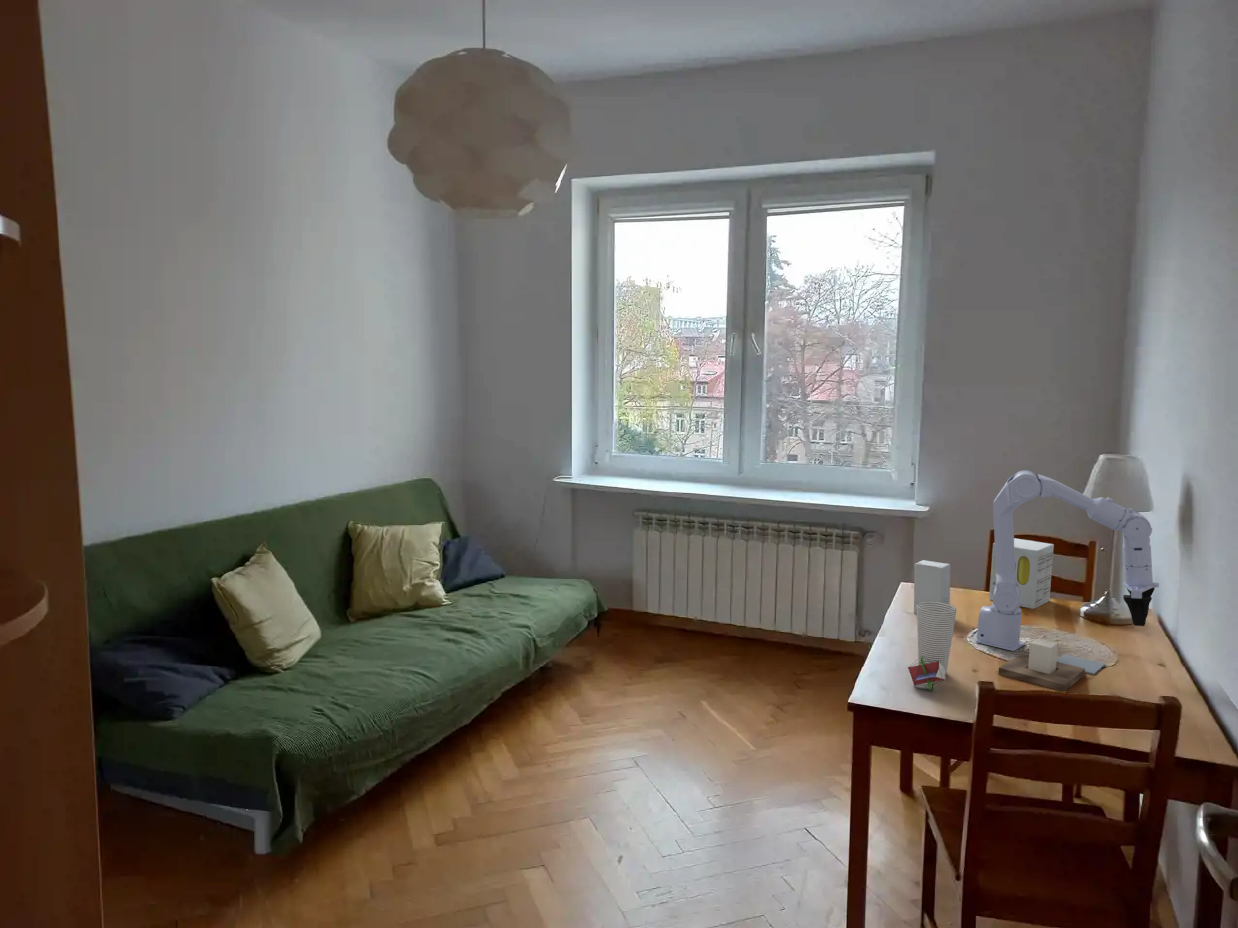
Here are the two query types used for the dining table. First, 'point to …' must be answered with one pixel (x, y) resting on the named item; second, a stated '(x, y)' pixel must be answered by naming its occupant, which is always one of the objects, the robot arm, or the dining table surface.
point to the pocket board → (1057, 680)
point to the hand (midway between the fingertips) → (1140, 621)
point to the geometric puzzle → (927, 673)
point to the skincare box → (931, 582)
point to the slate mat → (1081, 663)
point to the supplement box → (1029, 571)
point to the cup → (935, 631)
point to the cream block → (1043, 656)
